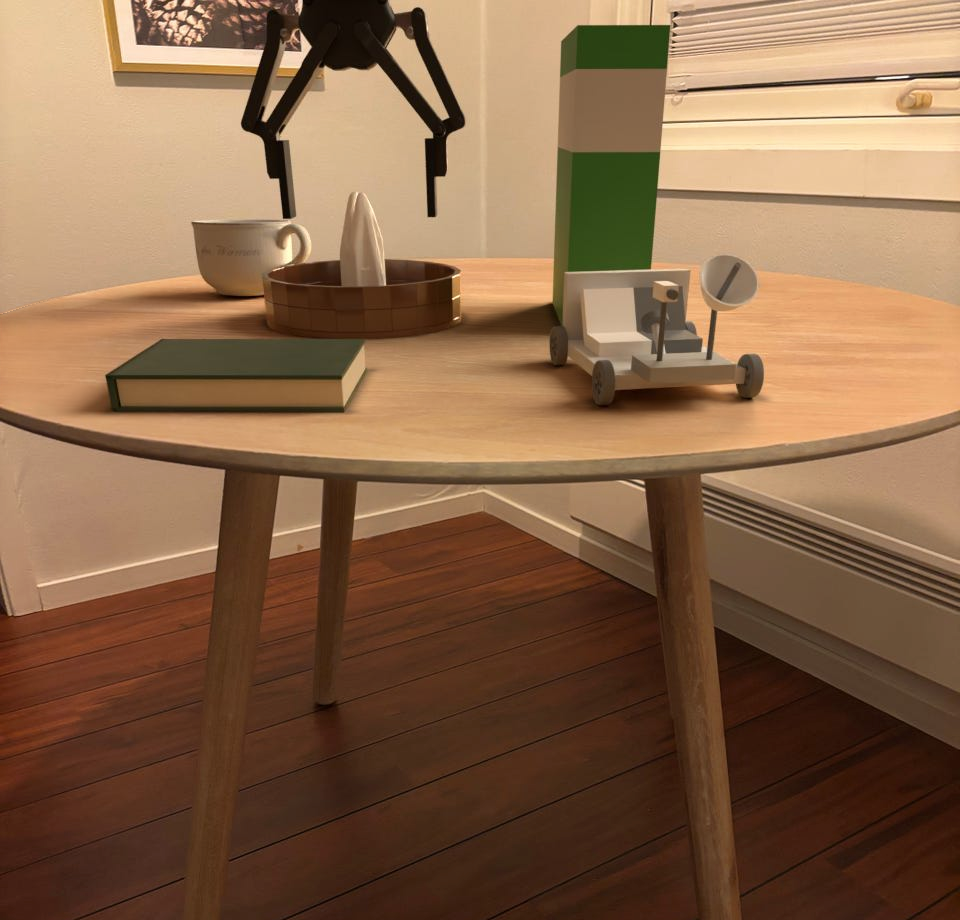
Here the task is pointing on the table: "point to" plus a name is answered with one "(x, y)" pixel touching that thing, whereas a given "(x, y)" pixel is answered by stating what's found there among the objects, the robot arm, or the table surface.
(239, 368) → the green book
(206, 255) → the teacup
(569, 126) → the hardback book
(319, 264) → the bowl
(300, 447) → the table surface
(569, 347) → the toy car
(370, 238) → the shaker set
